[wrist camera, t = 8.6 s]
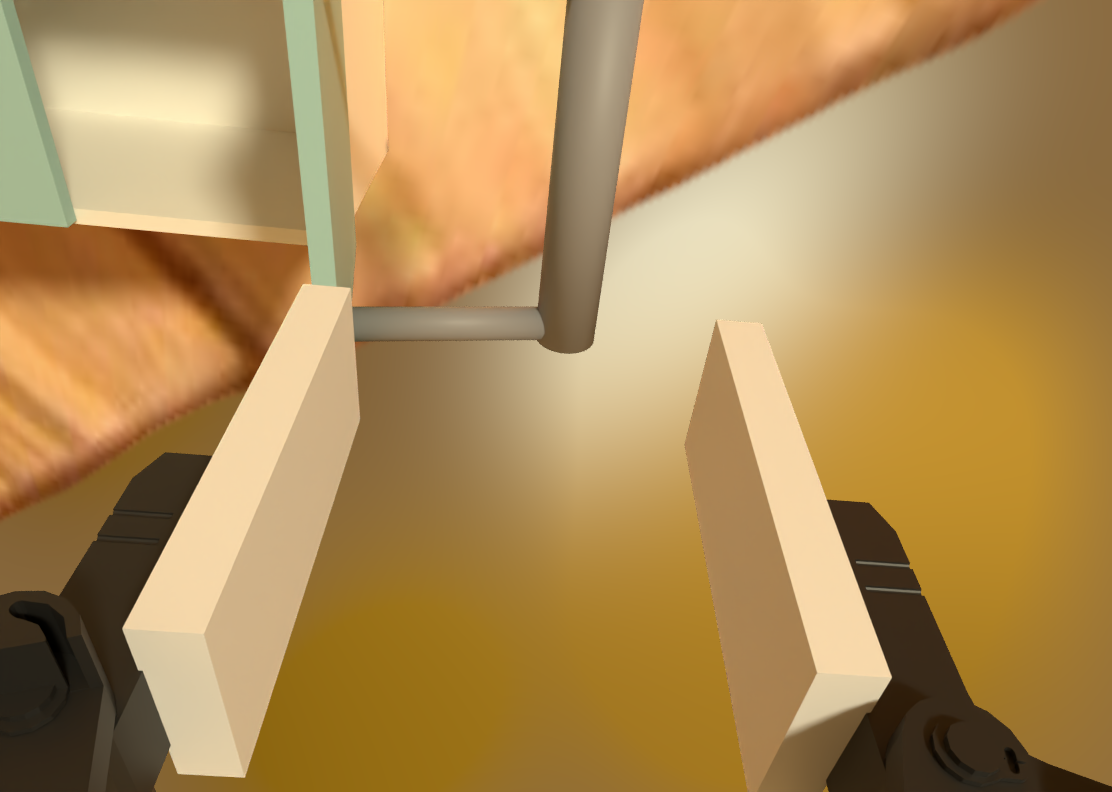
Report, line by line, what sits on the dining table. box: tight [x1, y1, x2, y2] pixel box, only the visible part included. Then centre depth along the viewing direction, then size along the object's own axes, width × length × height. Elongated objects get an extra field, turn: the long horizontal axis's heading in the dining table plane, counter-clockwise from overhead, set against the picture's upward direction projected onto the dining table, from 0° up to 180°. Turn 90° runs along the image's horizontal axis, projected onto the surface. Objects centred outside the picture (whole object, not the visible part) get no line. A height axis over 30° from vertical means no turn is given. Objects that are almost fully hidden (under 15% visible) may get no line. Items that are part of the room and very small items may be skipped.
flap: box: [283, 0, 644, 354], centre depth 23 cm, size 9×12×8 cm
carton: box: [13, 0, 388, 246], centre depth 29 cm, size 18×12×10 cm, turn 85°
